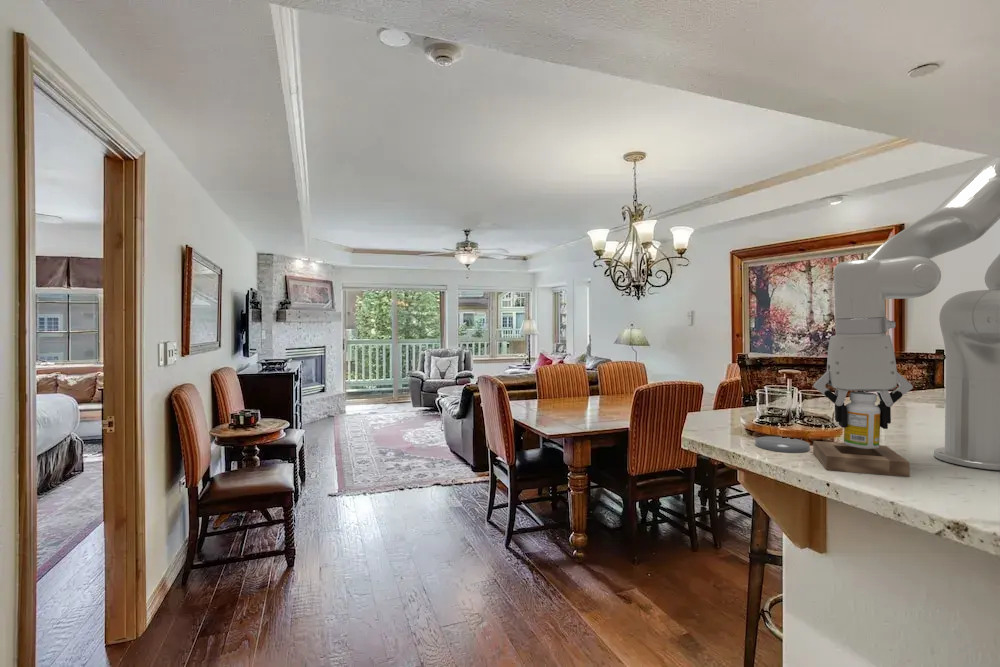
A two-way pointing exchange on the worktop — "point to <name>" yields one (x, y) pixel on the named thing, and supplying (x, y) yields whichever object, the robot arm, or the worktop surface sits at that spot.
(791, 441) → the coaster
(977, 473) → the worktop surface
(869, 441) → the supplement bottle
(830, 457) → the frame
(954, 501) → the worktop surface
